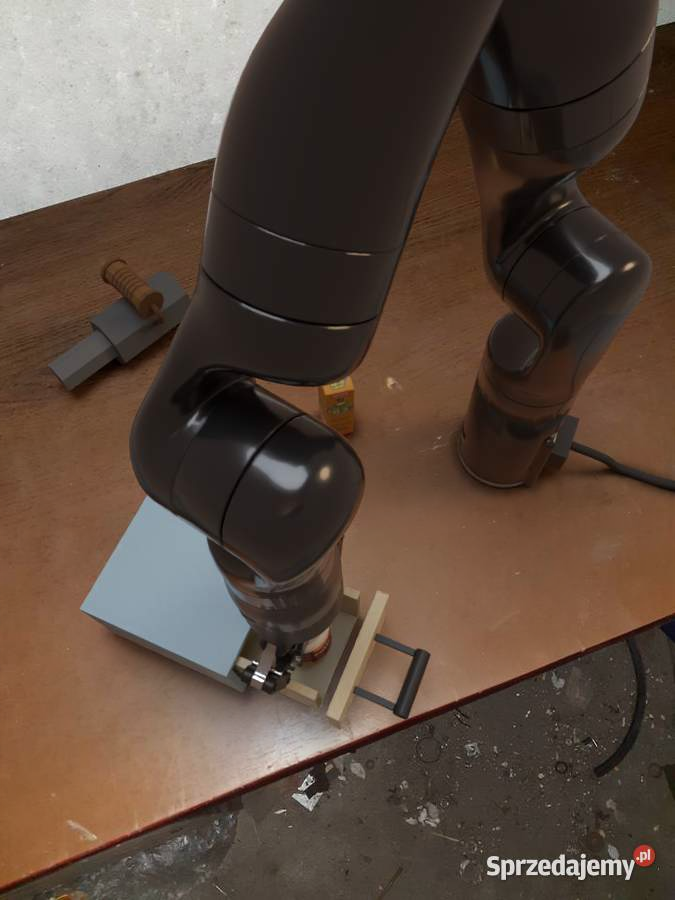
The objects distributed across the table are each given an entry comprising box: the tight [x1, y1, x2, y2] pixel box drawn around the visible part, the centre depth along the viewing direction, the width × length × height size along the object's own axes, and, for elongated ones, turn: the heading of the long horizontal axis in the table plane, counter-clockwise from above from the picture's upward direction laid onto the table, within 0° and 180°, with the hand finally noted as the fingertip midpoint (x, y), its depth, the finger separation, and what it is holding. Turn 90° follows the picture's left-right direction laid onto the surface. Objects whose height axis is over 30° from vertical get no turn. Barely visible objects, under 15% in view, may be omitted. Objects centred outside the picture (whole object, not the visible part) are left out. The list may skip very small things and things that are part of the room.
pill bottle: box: [302, 626, 332, 665], centre depth 61 cm, size 5×5×8 cm
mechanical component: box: [47, 256, 191, 392], centre depth 80 cm, size 10×18×10 cm, turn 135°
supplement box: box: [317, 375, 355, 436], centre depth 75 cm, size 3×3×10 cm
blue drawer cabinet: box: [79, 494, 252, 694], centre depth 66 cm, size 15×13×10 cm
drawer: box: [232, 584, 432, 730], centre depth 63 cm, size 19×11×8 cm, turn 67°
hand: (304, 629), depth 61 cm, fingers closed on pill bottle, 4 cm apart
